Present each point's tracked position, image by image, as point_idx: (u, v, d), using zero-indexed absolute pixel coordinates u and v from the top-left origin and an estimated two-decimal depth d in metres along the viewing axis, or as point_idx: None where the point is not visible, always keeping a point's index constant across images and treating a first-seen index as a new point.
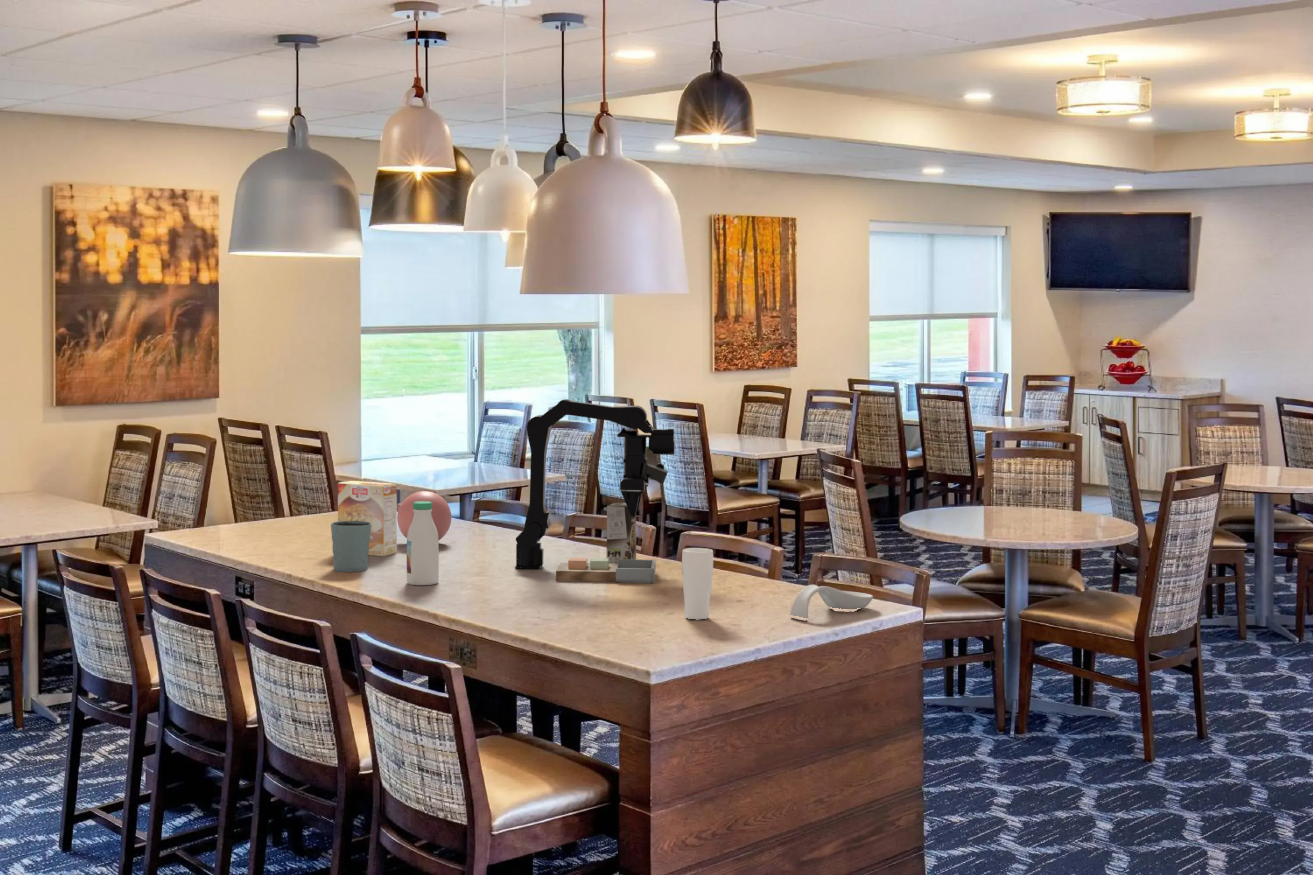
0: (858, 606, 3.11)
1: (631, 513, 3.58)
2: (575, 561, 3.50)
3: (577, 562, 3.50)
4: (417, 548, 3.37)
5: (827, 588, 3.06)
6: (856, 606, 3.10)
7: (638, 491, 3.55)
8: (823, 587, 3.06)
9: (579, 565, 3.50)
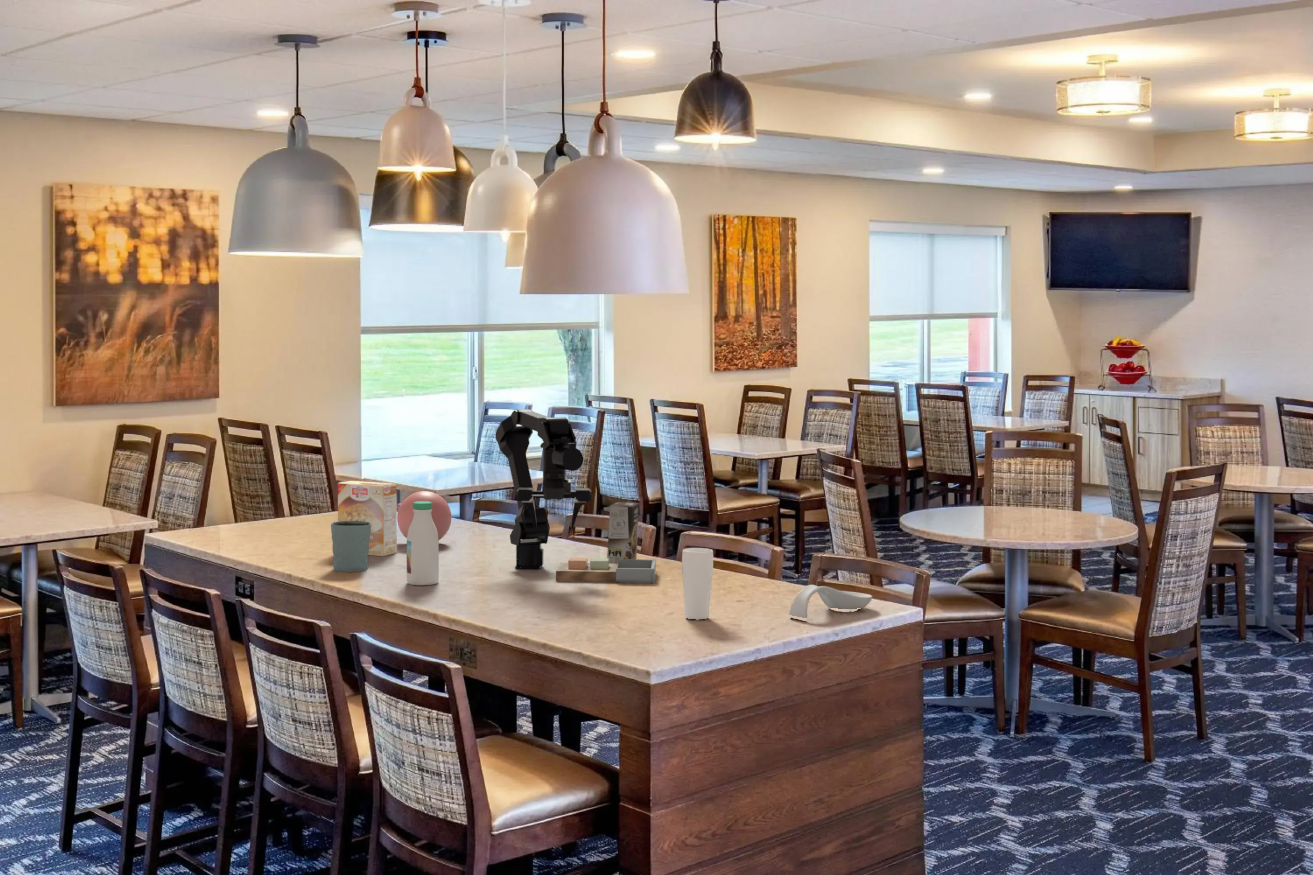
0: (857, 606, 3.10)
1: None
2: (575, 561, 3.50)
3: (577, 562, 3.50)
4: (417, 548, 3.37)
5: (826, 588, 3.06)
6: (855, 606, 3.10)
7: (522, 502, 3.50)
8: (822, 587, 3.05)
9: (579, 565, 3.50)
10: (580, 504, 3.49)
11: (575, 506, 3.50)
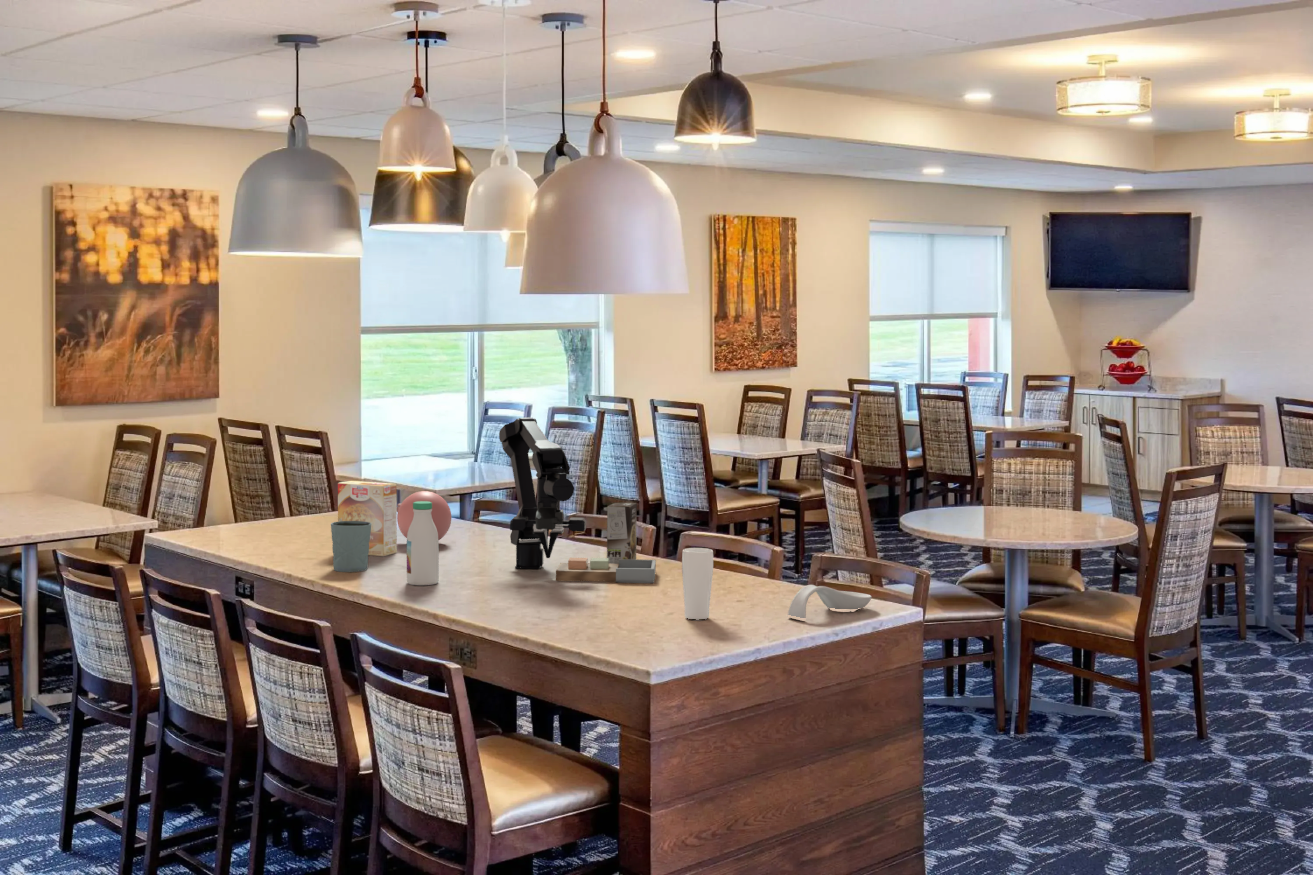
0: (856, 606, 3.10)
1: None
2: (575, 561, 3.50)
3: (577, 562, 3.50)
4: (417, 548, 3.37)
5: (825, 588, 3.06)
6: (854, 606, 3.10)
7: (533, 531, 3.50)
8: (821, 587, 3.05)
9: (579, 565, 3.50)
10: (556, 533, 3.49)
11: (551, 535, 3.49)
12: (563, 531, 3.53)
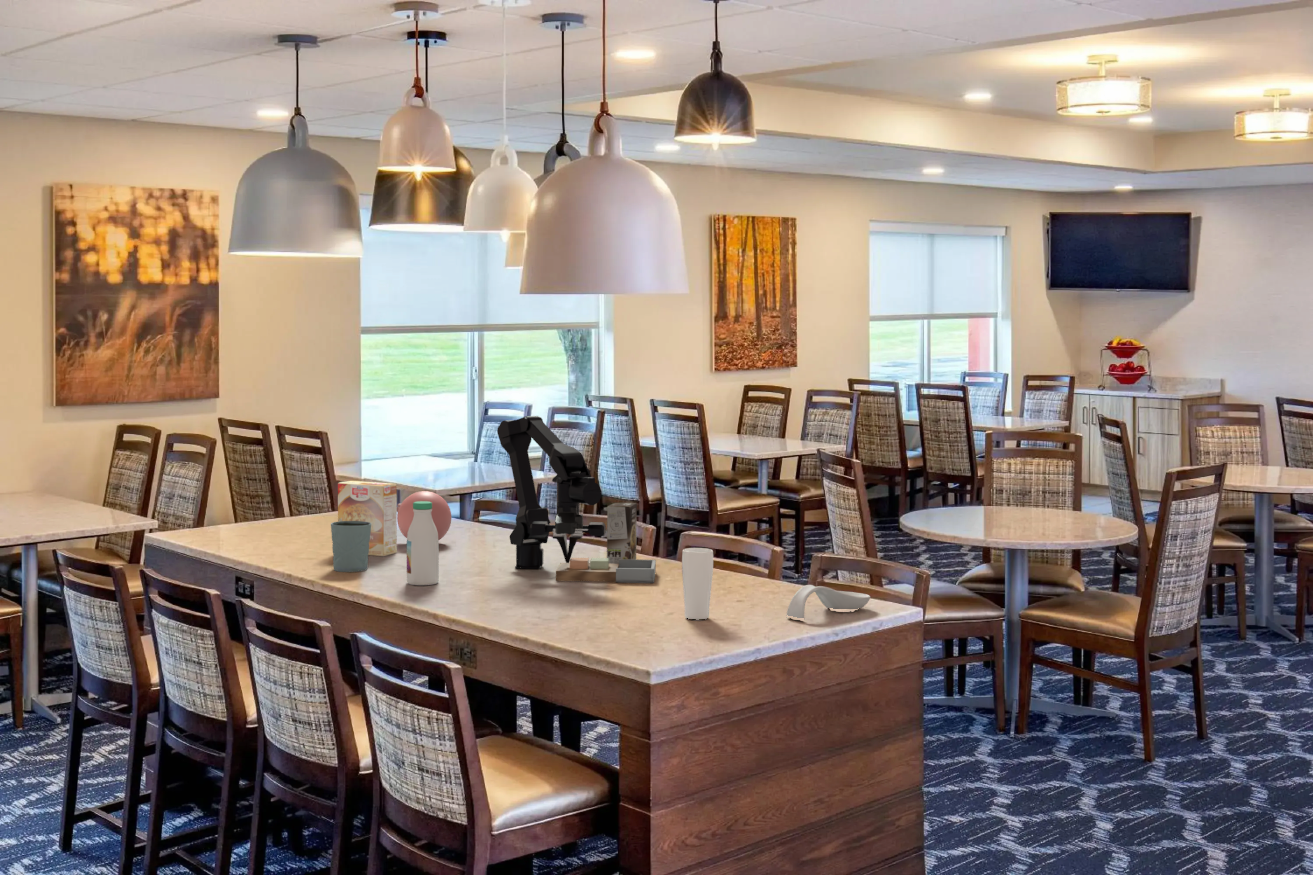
0: (855, 606, 3.10)
1: None
2: (576, 561, 3.50)
3: (578, 562, 3.49)
4: (417, 548, 3.37)
5: (824, 588, 3.06)
6: (853, 606, 3.10)
7: (553, 536, 3.50)
8: (820, 587, 3.05)
9: (580, 565, 3.50)
10: (575, 538, 3.48)
11: (570, 540, 3.49)
12: (582, 536, 3.53)
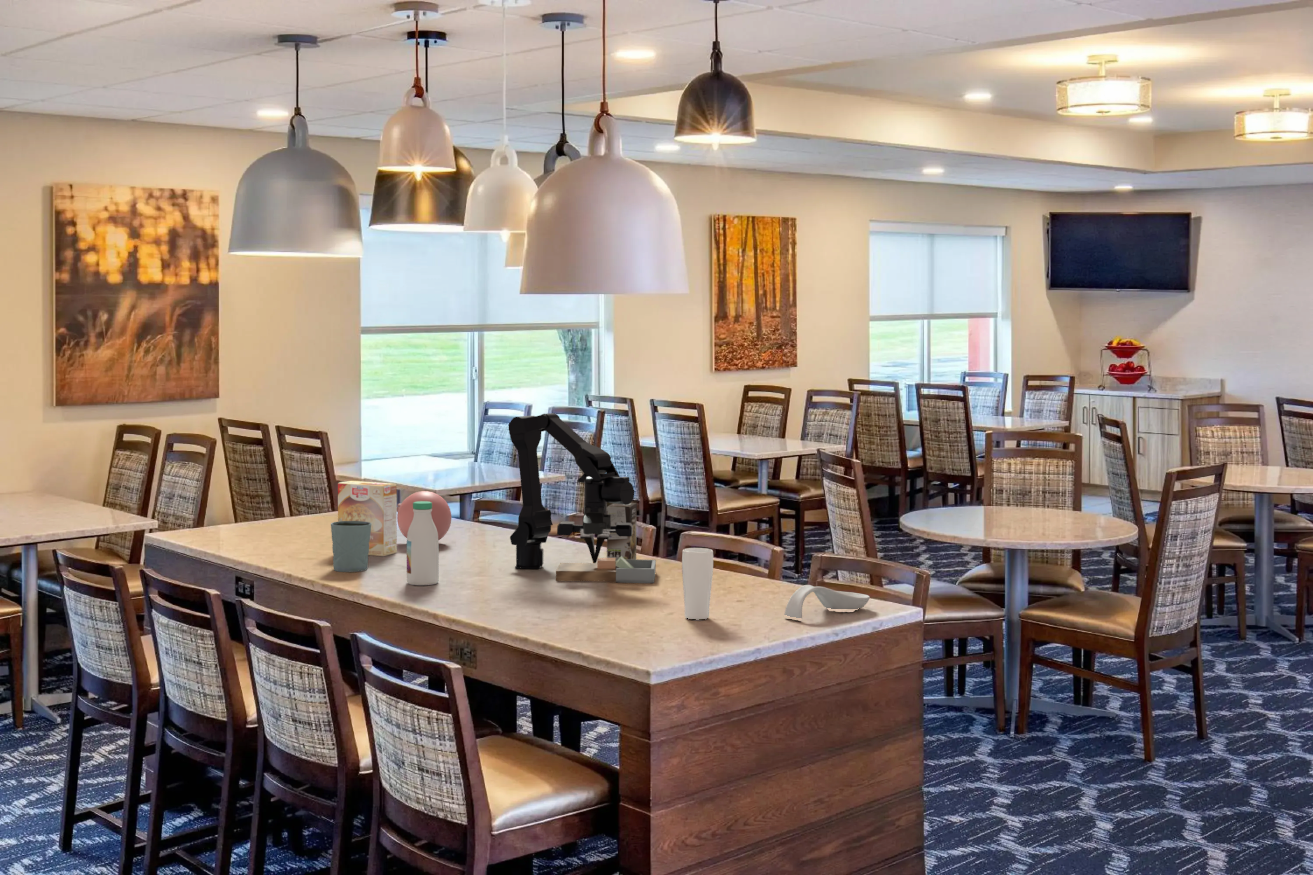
0: (854, 607, 3.10)
1: None
2: (604, 561, 3.50)
3: (606, 562, 3.50)
4: (417, 548, 3.37)
5: (822, 588, 3.06)
6: (852, 607, 3.10)
7: (580, 536, 3.50)
8: (818, 587, 3.05)
9: (608, 565, 3.50)
10: (603, 538, 3.48)
11: (598, 540, 3.49)
12: None
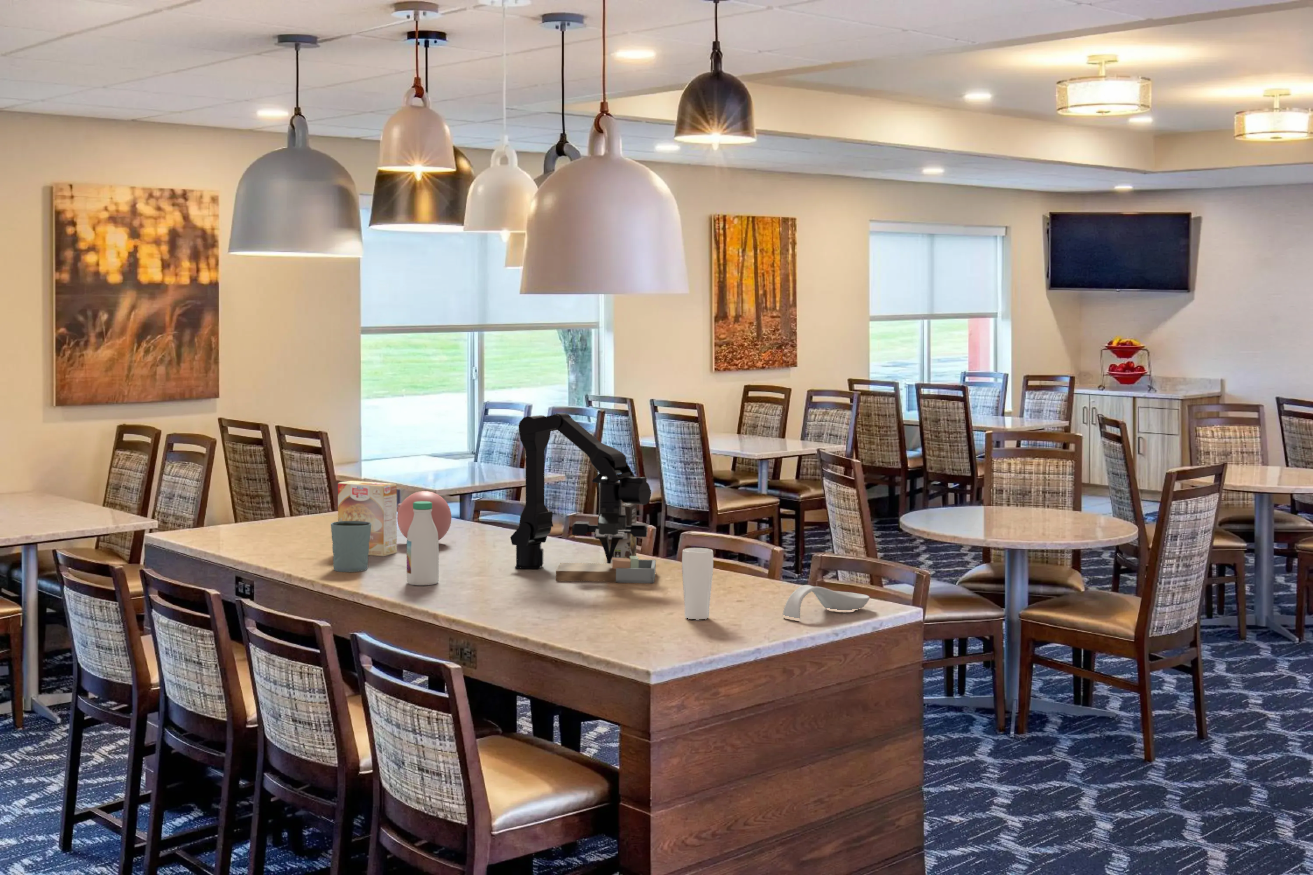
0: (853, 607, 3.10)
1: None
2: (619, 561, 3.50)
3: (621, 562, 3.50)
4: (417, 548, 3.37)
5: (821, 588, 3.06)
6: (851, 607, 3.09)
7: (595, 536, 3.50)
8: (817, 587, 3.05)
9: (623, 566, 3.50)
10: (617, 539, 3.48)
11: (612, 540, 3.49)
12: None
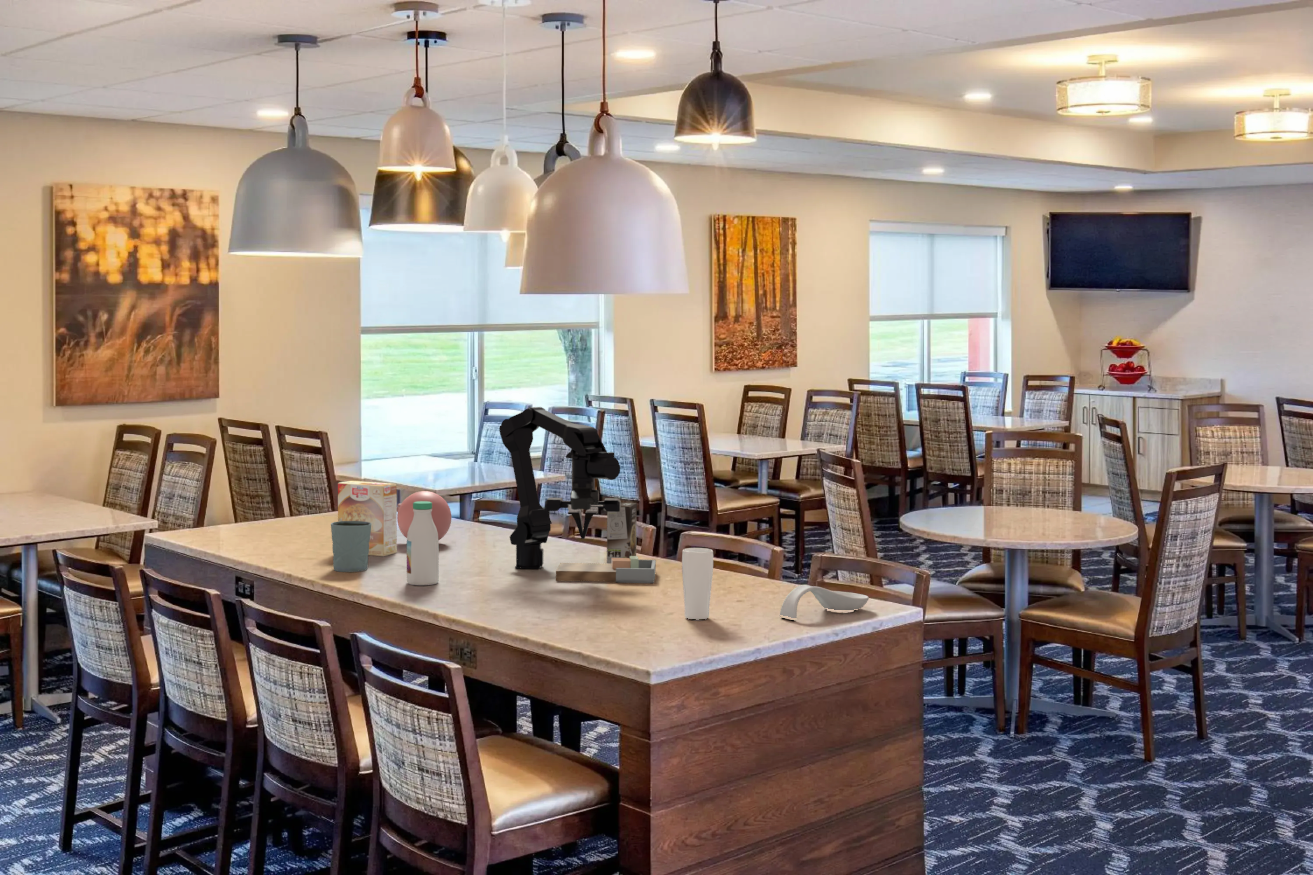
0: (852, 607, 3.09)
1: None
2: (619, 561, 3.50)
3: (621, 562, 3.50)
4: (417, 548, 3.37)
5: (818, 588, 3.06)
6: (850, 607, 3.09)
7: (568, 512, 3.49)
8: (814, 587, 3.05)
9: (623, 565, 3.50)
10: (591, 514, 3.48)
11: (586, 516, 3.48)
12: None
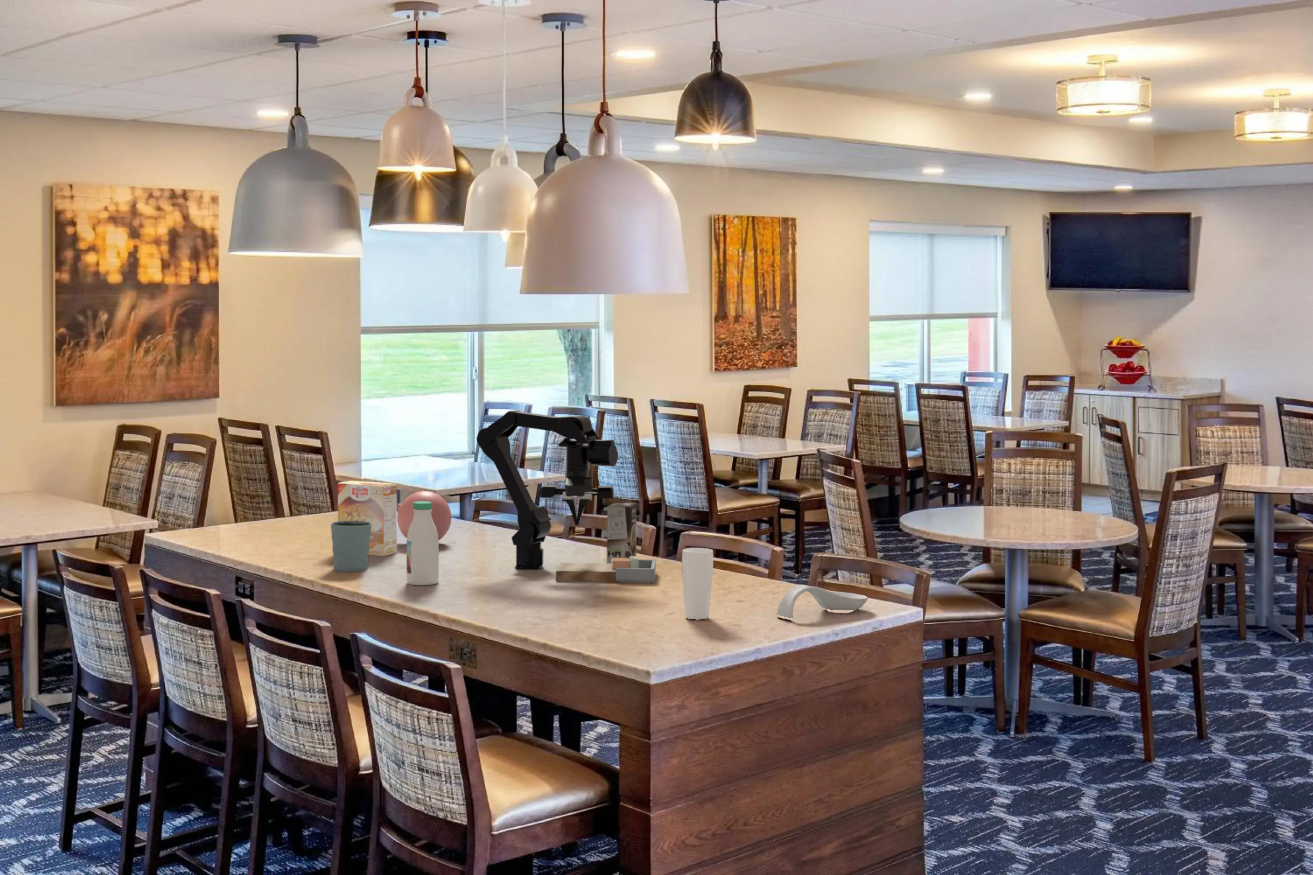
0: (850, 607, 3.09)
1: None
2: (619, 561, 3.50)
3: (621, 562, 3.50)
4: (417, 548, 3.37)
5: (816, 588, 3.06)
6: (848, 607, 3.09)
7: (562, 499, 3.57)
8: (811, 587, 3.05)
9: (623, 565, 3.50)
10: (585, 501, 3.56)
11: (580, 503, 3.56)
12: None
